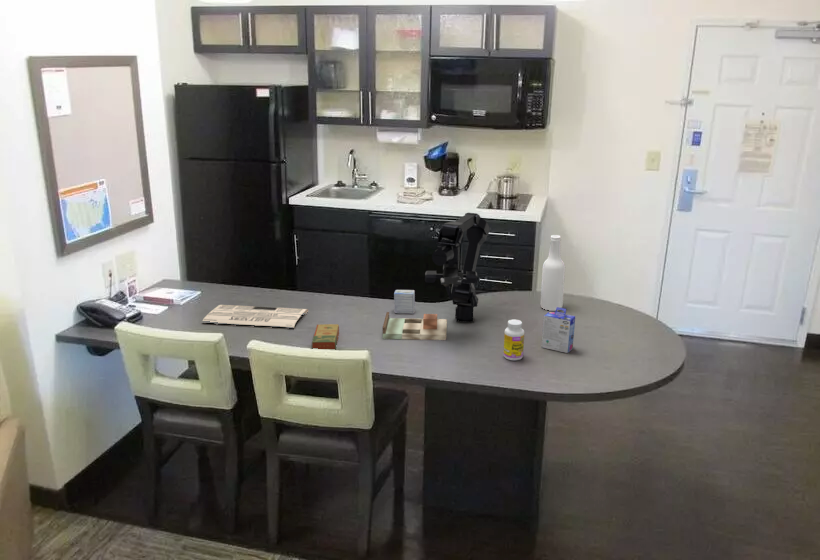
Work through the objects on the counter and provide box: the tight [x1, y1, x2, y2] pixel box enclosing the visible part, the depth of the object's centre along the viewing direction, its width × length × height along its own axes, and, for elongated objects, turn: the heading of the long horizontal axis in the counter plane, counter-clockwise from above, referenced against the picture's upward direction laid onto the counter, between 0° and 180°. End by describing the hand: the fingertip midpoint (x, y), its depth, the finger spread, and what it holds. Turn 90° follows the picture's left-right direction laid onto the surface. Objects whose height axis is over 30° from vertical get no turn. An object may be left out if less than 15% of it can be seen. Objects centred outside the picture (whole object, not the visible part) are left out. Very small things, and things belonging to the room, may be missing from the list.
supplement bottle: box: [503, 318, 525, 361], centre depth 226 cm, size 7×7×13 cm
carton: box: [311, 323, 340, 350], centre depth 240 cm, size 8×16×4 cm, turn 1°
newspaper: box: [202, 304, 309, 329], centre depth 262 cm, size 37×19×3 cm, turn 81°
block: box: [422, 313, 438, 329], centre depth 248 cm, size 5×5×4 cm
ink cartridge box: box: [541, 307, 576, 354], centre depth 232 cm, size 10×6×14 cm, turn 58°
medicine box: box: [393, 289, 416, 315], centre depth 267 cm, size 8×4×9 cm, turn 84°
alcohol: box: [540, 234, 566, 312], centre depth 266 cm, size 9×9×30 cm
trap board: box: [382, 311, 448, 341], centre depth 249 cm, size 23×15×4 cm, turn 86°
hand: (450, 299), depth 244 cm, fingers closed
